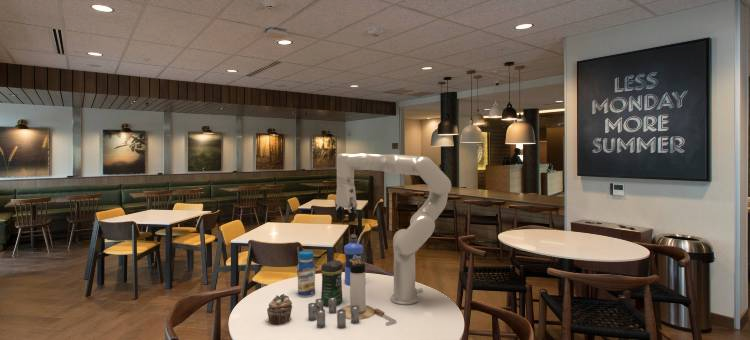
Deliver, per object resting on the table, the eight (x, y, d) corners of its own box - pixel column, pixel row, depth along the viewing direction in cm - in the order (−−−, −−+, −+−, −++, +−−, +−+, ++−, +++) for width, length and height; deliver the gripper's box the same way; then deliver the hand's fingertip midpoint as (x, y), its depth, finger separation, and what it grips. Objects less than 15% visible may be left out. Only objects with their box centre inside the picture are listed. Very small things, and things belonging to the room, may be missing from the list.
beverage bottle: (317, 291, 190) (317, 250, 190) (313, 297, 182) (312, 254, 181) (300, 291, 191) (299, 249, 190) (295, 297, 183) (294, 254, 182)
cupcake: (281, 314, 163) (281, 289, 163) (297, 320, 157) (296, 294, 157) (261, 321, 156) (261, 296, 156) (277, 328, 150) (276, 301, 149)
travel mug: (356, 316, 160) (356, 266, 159) (347, 310, 165) (347, 263, 164) (369, 312, 163) (368, 264, 163) (360, 307, 169) (359, 260, 168)
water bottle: (342, 281, 205) (341, 233, 205) (358, 279, 209) (358, 232, 208) (348, 287, 197) (348, 236, 196) (365, 284, 201) (365, 235, 200)
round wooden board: (361, 302, 175) (361, 302, 175) (382, 313, 163) (382, 312, 163) (331, 310, 166) (331, 309, 166) (351, 322, 154) (351, 321, 154)
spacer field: (336, 308, 169) (336, 294, 169) (361, 322, 154) (361, 307, 154) (303, 317, 160) (302, 302, 160) (325, 333, 145) (325, 317, 144)
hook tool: (367, 314, 162) (367, 311, 162) (377, 312, 165) (377, 308, 165) (387, 325, 151) (387, 321, 151) (397, 322, 154) (397, 318, 154)
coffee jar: (333, 308, 169) (333, 265, 168) (318, 305, 173) (317, 262, 172) (345, 301, 177) (345, 259, 177) (330, 298, 181) (330, 257, 181)
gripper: (363, 182, 171) (363, 221, 171) (342, 180, 184) (342, 217, 185) (348, 182, 166) (348, 223, 167) (328, 181, 180) (328, 218, 181)
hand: (345, 220), depth 176 cm, fingers open, 9 cm apart
